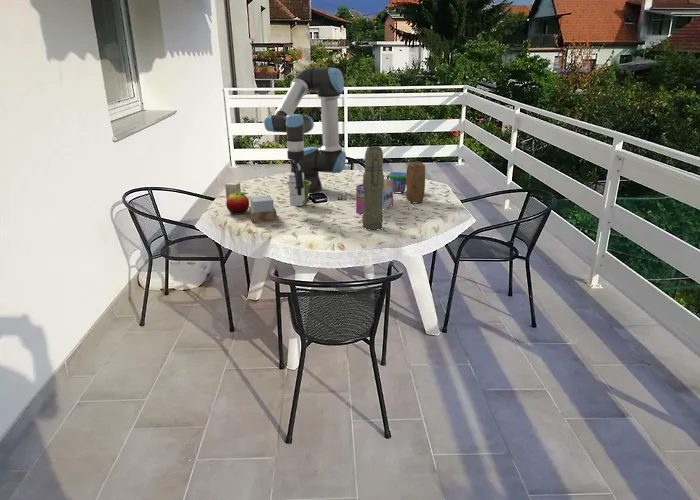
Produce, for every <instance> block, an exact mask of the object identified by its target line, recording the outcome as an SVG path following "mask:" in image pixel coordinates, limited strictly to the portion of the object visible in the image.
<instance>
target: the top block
mask: <svg viewBox="0 0 700 500" xmlns="http://www.w3.org/2000/svg"><path fill="white" fill-rule="evenodd" d="M249 206H250V207H251V209H252V210H253V212H254V213H256V212H267V211H274V208H275V204H274V199H273V198H272V197H271V196H270V195H257V196H250V197H249Z"/></svg>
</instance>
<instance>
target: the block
mask: <svg viewBox="0 0 700 500" xmlns="http://www.w3.org/2000/svg"><path fill="white" fill-rule="evenodd" d="M405 173H406V189H405V194H406V199H407V201H408V202H409V201H410V202H409V203H411V202H421V203H423V202H422V201H424V198H425V190H426V188H425V187H426V165H425V164H424V163H423V162H421V161H412V162H409V163H408V164H407V167H406V172H405Z"/></svg>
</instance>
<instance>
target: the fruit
mask: <svg viewBox="0 0 700 500" xmlns="http://www.w3.org/2000/svg"><path fill="white" fill-rule="evenodd" d="M248 194H249V193H248V192H244V191H241V193H238V192H236V193H233V194H230V195H229V197H228V198H227V199H226V203H225V206H226V209H227V210H228V211H229V212H230V213H231V214H232V215H233V214H234V215H242V214H245V213H246V212H247V211H249V207H250V199H249V198H248V196H247V195H248Z"/></svg>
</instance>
